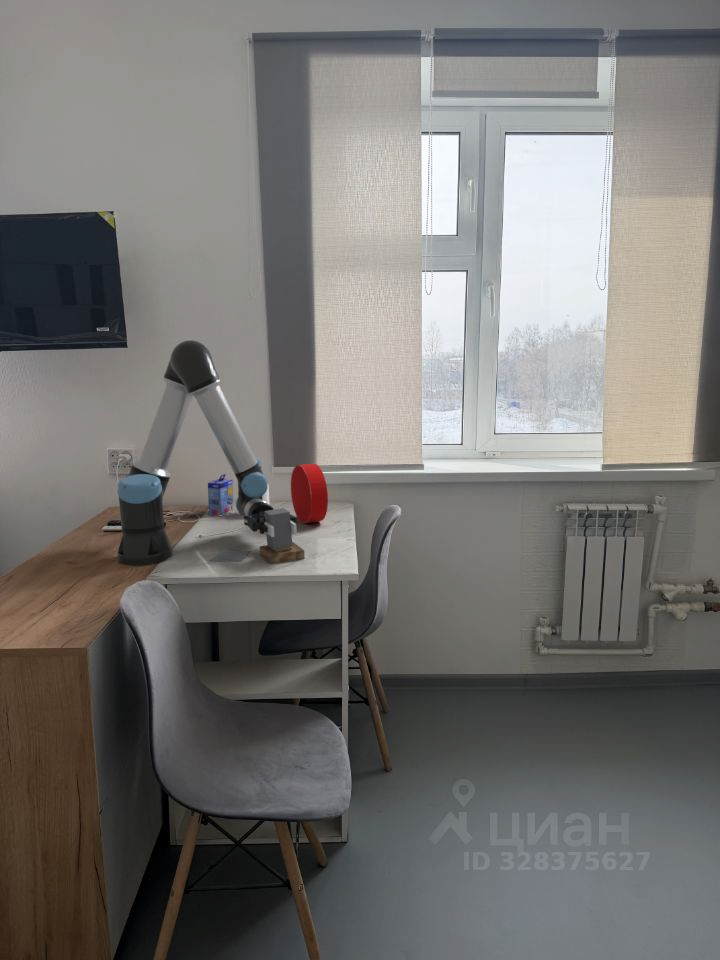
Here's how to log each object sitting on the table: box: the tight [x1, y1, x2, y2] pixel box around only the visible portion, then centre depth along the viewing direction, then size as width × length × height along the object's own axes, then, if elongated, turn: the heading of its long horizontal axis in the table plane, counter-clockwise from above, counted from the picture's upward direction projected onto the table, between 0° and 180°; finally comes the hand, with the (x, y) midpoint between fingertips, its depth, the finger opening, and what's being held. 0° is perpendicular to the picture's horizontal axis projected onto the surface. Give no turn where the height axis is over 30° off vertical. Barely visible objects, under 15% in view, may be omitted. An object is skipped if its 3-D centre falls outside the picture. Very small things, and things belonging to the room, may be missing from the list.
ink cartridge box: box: [207, 473, 234, 516], centre depth 244 cm, size 10×6×14 cm, turn 163°
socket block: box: [259, 541, 306, 565], centre depth 188 cm, size 10×10×3 cm
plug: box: [264, 507, 293, 552], centre depth 187 cm, size 6×6×12 cm
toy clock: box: [290, 463, 329, 524], centre depth 228 cm, size 20×6×20 cm, turn 25°
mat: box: [209, 550, 250, 562], centre depth 190 cm, size 9×9×1 cm
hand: (284, 530), depth 182 cm, fingers closed on plug, 6 cm apart
